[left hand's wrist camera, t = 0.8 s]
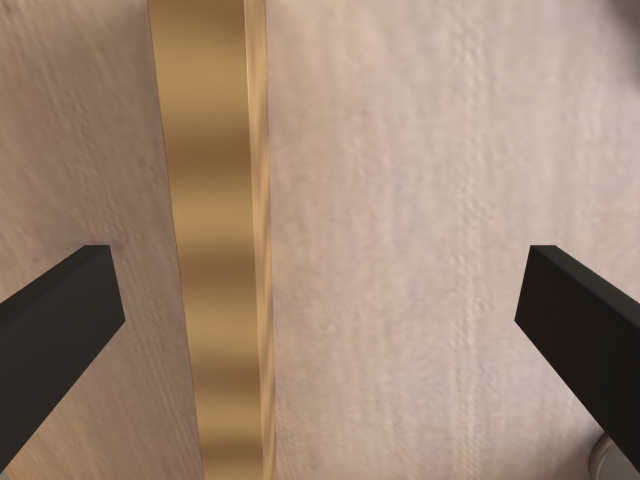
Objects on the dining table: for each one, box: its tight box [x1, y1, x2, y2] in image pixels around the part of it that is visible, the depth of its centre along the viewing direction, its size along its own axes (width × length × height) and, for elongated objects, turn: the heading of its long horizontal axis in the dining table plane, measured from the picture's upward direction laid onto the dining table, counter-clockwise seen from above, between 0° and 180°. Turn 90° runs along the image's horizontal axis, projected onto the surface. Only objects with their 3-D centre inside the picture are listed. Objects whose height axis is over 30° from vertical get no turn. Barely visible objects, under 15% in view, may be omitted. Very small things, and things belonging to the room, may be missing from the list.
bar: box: [147, 0, 277, 480], centre depth 34 cm, size 55×5×9 cm, turn 179°
